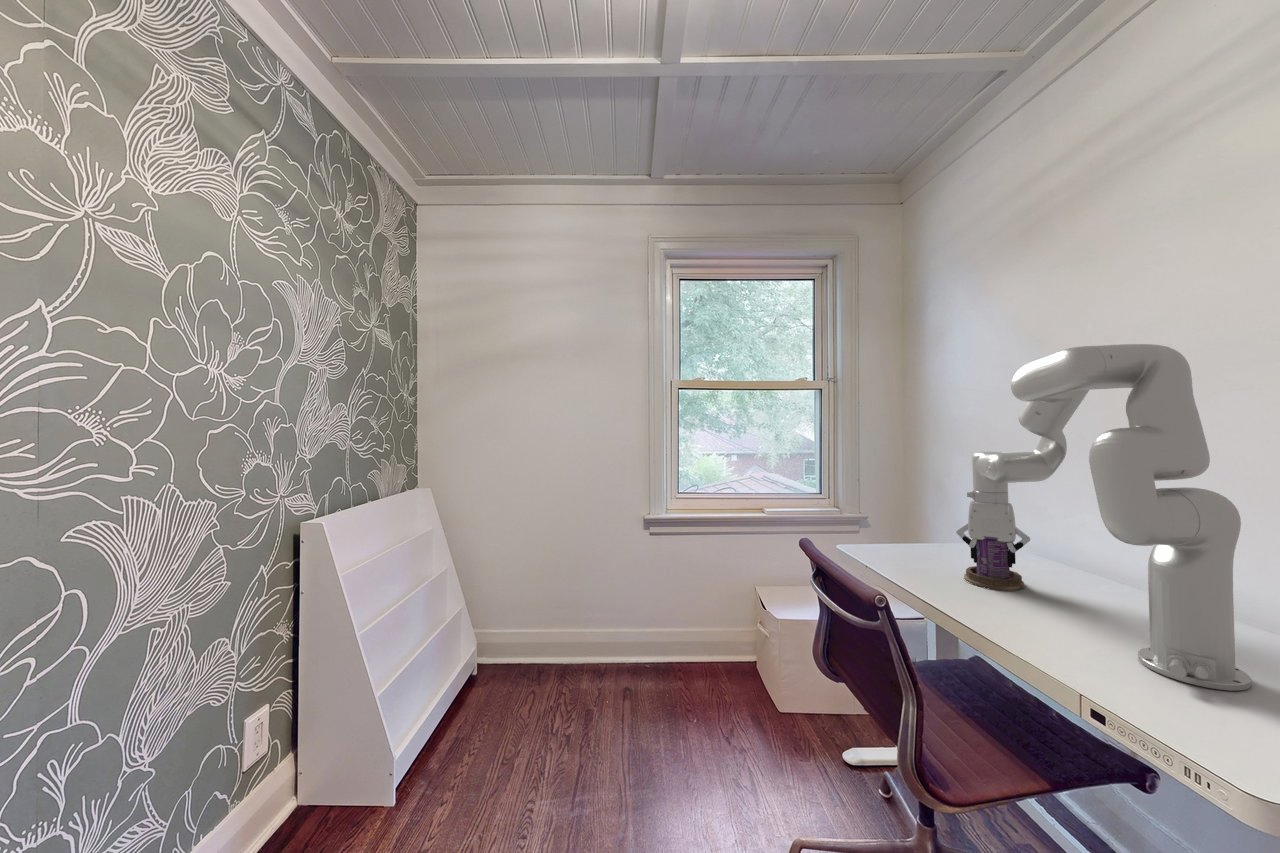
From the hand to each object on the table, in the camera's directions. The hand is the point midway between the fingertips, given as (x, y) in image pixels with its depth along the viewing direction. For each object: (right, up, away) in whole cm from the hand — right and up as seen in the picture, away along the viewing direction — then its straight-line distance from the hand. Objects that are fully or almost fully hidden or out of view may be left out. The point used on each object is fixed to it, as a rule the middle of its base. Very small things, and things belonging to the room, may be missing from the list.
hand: (992, 563), depth 126 cm
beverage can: (0, -5, 0) cm, 5 cm away
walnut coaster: (0, -5, 0) cm, 5 cm away
